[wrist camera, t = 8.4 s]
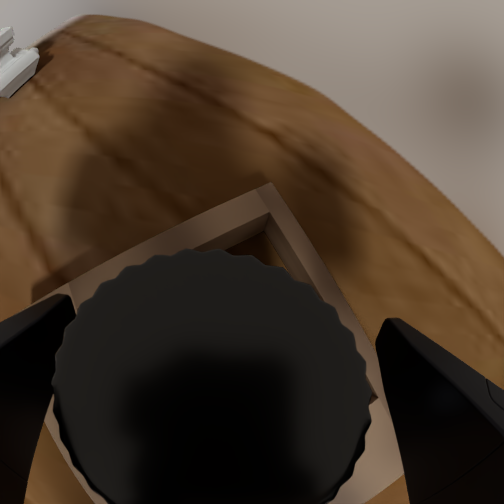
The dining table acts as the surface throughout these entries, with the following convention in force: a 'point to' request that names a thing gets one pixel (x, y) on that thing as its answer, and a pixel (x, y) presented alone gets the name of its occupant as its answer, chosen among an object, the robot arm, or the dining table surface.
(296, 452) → the supplement bottle
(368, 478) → the tan flat square frame
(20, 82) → the stamp
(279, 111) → the dining table surface
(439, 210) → the dining table surface
